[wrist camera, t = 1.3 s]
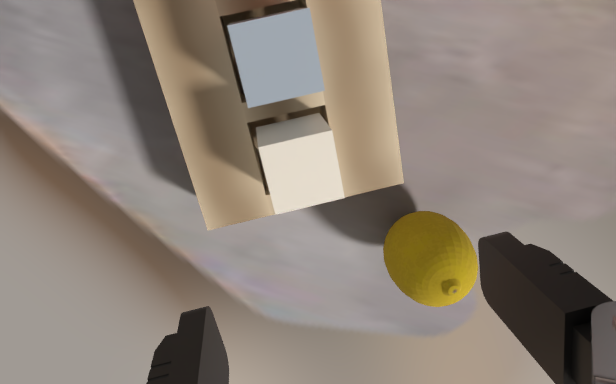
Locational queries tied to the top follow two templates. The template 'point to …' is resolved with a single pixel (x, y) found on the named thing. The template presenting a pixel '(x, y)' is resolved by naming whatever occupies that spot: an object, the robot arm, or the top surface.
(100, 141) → the top surface
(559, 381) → the robot arm
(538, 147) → the top surface
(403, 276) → the lemon
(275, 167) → the ivory key
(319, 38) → the tray
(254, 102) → the blue key
